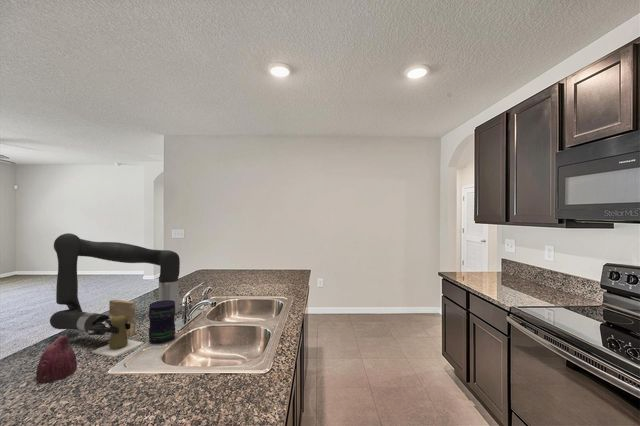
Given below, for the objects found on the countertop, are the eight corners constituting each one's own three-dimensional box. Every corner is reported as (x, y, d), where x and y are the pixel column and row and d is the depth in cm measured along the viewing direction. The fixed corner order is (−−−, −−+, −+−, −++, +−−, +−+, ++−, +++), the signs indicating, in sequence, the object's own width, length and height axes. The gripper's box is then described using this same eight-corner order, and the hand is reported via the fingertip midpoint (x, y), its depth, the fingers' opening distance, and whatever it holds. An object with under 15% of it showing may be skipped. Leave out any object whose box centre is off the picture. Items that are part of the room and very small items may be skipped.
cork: (131, 341, 117) (131, 314, 117) (119, 348, 111) (120, 319, 111) (117, 340, 117) (117, 313, 118) (104, 347, 111) (105, 318, 112)
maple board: (115, 329, 133) (116, 298, 133) (137, 333, 128) (137, 301, 129) (106, 333, 129) (107, 301, 129) (128, 337, 125) (128, 304, 125)
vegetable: (81, 378, 98) (95, 335, 99) (44, 391, 89) (60, 343, 90) (63, 365, 102) (76, 323, 103) (25, 376, 92) (41, 330, 93)
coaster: (122, 340, 122) (122, 338, 122) (144, 344, 118) (144, 342, 118) (91, 352, 110) (91, 351, 110) (114, 357, 106) (114, 355, 106)
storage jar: (143, 341, 120) (143, 304, 121) (165, 332, 129) (165, 299, 129) (158, 346, 116) (158, 308, 116) (180, 337, 125) (180, 302, 125)
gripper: (74, 319, 112) (105, 325, 107) (111, 308, 126) (140, 313, 120) (73, 339, 112) (105, 346, 107) (110, 326, 126) (140, 331, 120)
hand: (123, 328), depth 113 cm, fingers closed on cork, 4 cm apart
